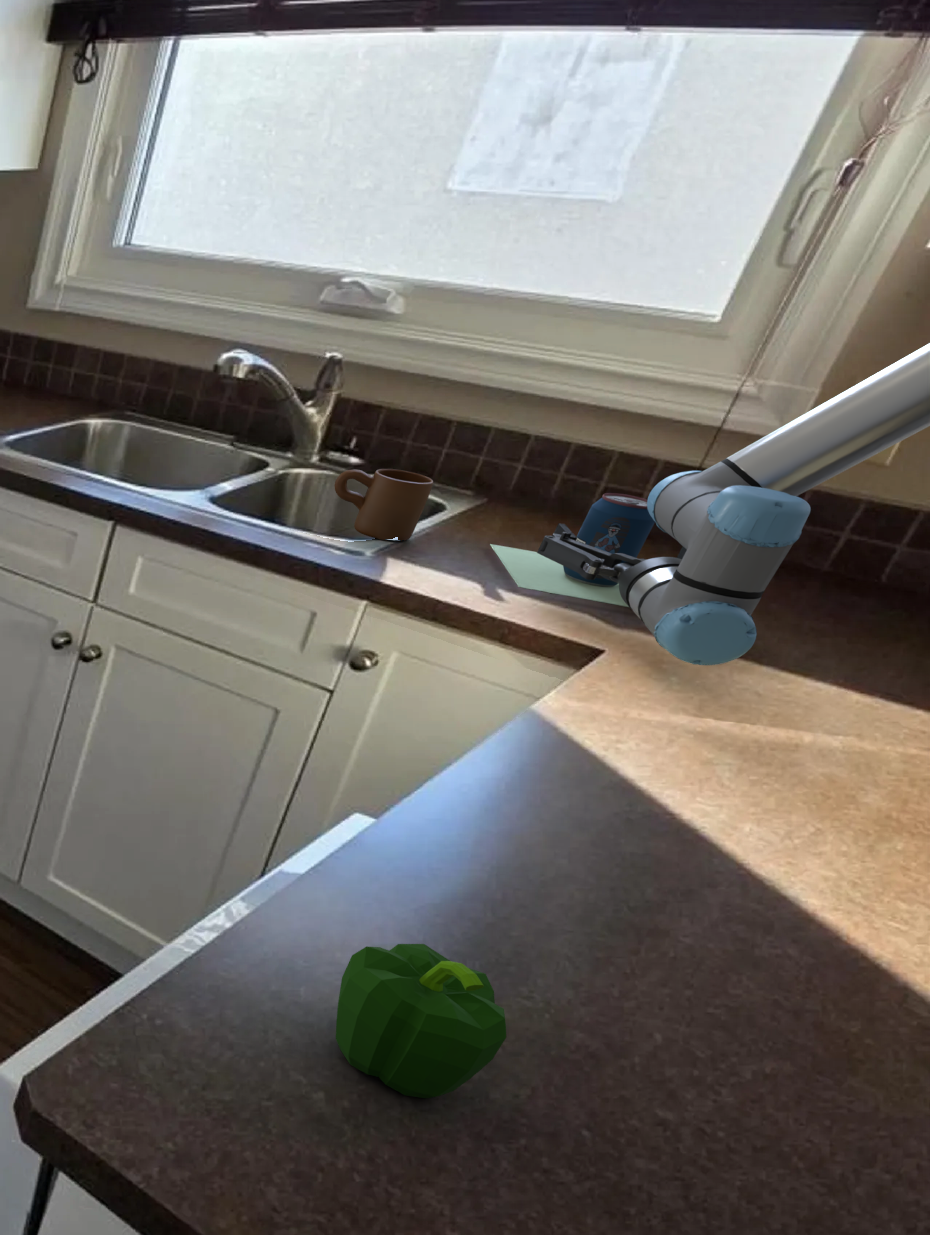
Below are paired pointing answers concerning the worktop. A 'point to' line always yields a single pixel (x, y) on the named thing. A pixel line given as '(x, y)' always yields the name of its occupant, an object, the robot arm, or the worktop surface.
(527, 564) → the mat
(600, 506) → the soda can
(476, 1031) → the bell pepper
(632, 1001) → the worktop surface
